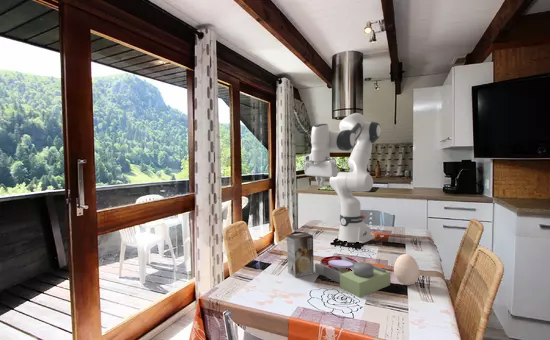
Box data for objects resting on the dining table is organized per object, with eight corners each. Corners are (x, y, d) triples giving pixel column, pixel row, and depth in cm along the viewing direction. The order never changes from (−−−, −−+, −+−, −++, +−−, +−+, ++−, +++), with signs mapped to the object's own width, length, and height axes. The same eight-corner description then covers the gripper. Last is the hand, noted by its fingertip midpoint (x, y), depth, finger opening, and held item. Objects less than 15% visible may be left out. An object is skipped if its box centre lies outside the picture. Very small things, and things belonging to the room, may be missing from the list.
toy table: (356, 275, 118) (356, 261, 117) (348, 283, 110) (348, 268, 110) (333, 270, 123) (333, 257, 123) (324, 277, 116) (324, 263, 116)
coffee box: (305, 268, 126) (305, 231, 125) (314, 273, 120) (313, 235, 119) (287, 272, 121) (286, 234, 121) (295, 278, 116) (294, 238, 115)
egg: (390, 279, 113) (390, 250, 113) (412, 279, 113) (413, 250, 113) (399, 289, 105) (399, 258, 104) (423, 289, 104) (423, 258, 104)
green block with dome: (370, 276, 116) (370, 257, 116) (390, 285, 108) (390, 264, 108) (340, 287, 107) (339, 266, 106) (359, 297, 99) (359, 274, 99)
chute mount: (343, 264, 130) (343, 255, 129) (371, 276, 116) (371, 266, 116) (314, 273, 120) (314, 263, 120) (342, 286, 107) (342, 276, 107)
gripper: (340, 157, 134) (340, 187, 134) (311, 157, 151) (312, 183, 151) (330, 157, 130) (330, 187, 131) (302, 157, 147) (302, 184, 148)
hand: (320, 185), depth 141 cm, fingers closed
